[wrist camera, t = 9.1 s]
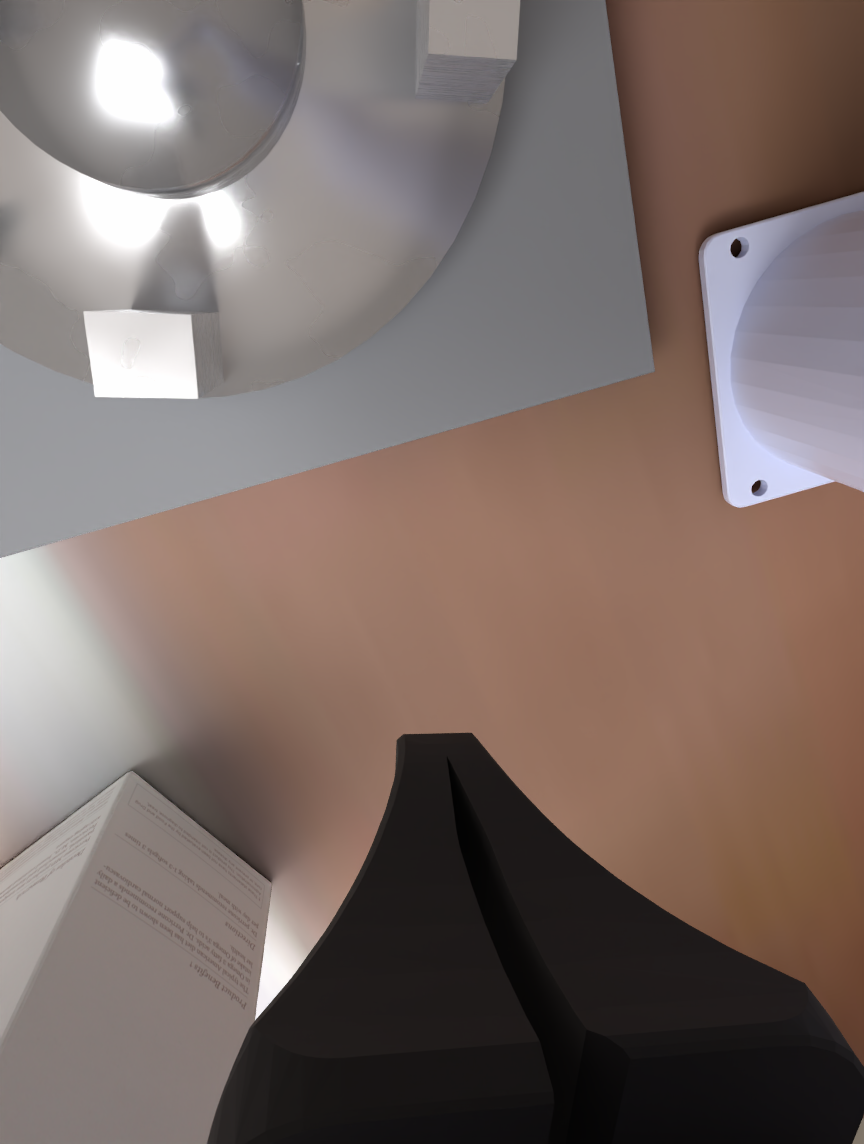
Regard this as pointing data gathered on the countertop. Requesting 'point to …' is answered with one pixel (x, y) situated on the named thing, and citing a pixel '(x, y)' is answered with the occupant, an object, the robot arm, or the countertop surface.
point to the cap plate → (386, 327)
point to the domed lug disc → (233, 179)
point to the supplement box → (125, 974)
